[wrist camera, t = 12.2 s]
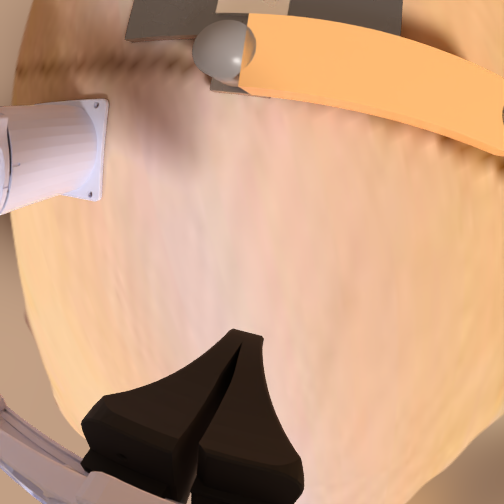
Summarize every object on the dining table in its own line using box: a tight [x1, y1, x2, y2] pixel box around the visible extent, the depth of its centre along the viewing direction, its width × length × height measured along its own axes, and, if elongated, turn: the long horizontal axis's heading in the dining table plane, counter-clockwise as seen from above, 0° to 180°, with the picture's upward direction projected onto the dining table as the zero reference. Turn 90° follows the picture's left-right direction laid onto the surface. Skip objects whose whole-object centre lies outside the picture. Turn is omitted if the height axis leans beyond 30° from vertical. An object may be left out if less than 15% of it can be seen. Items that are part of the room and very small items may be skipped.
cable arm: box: [192, 13, 504, 156], centre depth 13 cm, size 18×4×3 cm, turn 83°
